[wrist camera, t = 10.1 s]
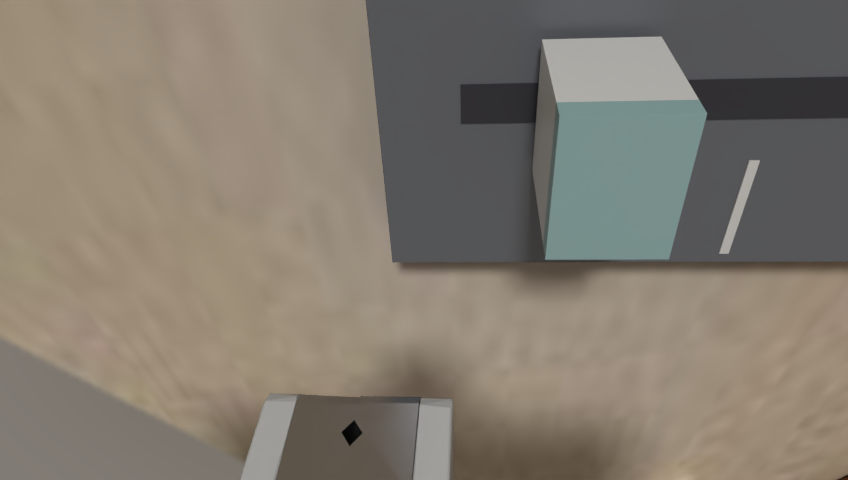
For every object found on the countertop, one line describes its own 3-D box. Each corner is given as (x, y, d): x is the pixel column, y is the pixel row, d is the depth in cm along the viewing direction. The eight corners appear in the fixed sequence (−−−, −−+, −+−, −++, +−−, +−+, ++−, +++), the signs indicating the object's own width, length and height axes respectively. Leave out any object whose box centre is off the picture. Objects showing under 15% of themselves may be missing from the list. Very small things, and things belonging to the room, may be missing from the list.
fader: (532, 170, 19) (545, 259, 16) (541, 39, 16) (559, 115, 13) (635, 169, 19) (668, 259, 16) (661, 36, 16) (707, 113, 13)
